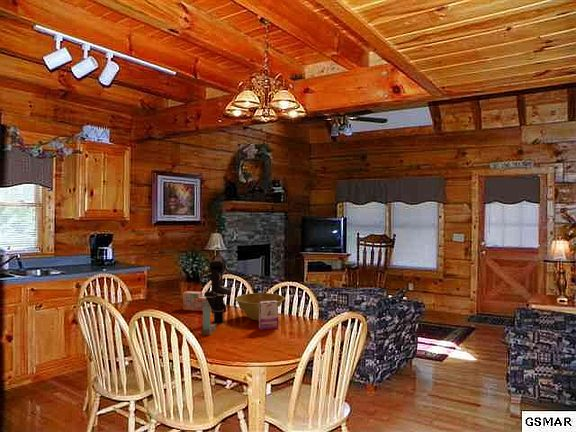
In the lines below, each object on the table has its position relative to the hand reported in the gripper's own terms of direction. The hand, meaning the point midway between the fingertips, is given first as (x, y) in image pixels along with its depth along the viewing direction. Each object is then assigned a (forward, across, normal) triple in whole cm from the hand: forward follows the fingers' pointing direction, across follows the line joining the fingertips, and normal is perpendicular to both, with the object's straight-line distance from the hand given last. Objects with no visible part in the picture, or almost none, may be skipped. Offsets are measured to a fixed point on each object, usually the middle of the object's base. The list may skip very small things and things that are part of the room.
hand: (215, 308), depth 273 cm
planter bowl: (+10, +36, -14) cm, 40 cm away
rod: (+11, -10, +1) cm, 15 cm away
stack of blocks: (+7, +43, +36) cm, 56 cm away
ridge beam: (+14, -4, +2) cm, 14 cm away
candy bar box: (+13, +15, -28) cm, 34 cm away
